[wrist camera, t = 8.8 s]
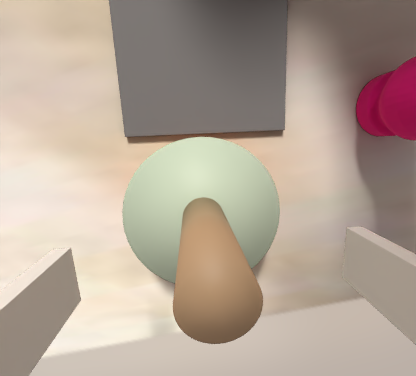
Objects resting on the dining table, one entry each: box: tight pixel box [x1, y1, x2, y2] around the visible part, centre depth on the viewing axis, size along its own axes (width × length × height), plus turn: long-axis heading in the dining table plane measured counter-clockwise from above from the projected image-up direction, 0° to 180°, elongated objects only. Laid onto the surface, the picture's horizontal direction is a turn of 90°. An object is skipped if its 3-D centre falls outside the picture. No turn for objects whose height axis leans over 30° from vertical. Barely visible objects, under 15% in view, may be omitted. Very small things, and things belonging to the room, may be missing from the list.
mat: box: [109, 0, 288, 137], centre depth 21 cm, size 16×16×1 cm
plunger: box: [122, 137, 280, 344], centre depth 14 cm, size 13×13×11 cm
